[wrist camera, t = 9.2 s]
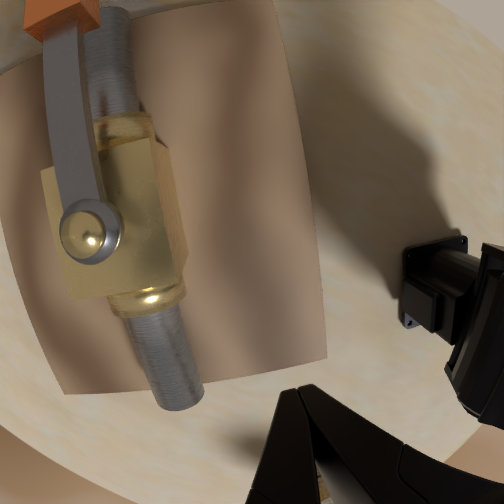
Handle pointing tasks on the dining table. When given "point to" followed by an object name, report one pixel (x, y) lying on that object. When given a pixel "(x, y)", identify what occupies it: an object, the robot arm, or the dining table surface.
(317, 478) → the robot arm
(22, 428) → the dining table surface
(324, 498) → the sprinkles bottle
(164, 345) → the valve body
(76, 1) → the valve lever
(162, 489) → the dining table surface
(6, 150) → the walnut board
